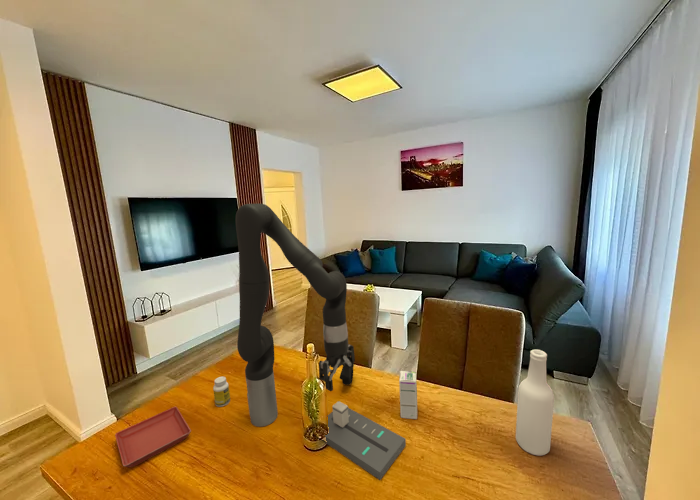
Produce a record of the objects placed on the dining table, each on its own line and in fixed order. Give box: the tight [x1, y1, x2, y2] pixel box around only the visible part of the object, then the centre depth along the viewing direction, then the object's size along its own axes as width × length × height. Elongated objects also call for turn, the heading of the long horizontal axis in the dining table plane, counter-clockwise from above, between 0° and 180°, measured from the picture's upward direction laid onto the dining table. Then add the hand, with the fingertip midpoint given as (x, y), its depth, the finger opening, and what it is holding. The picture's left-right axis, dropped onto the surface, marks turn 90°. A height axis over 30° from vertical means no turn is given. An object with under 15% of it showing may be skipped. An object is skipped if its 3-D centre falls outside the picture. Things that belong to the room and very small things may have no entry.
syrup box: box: [398, 370, 418, 420], centre depth 103 cm, size 6×6×14 cm
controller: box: [339, 361, 355, 386], centre depth 121 cm, size 4×12×10 cm, turn 169°
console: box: [325, 407, 407, 481], centre depth 93 cm, size 26×14×3 cm, turn 50°
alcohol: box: [515, 348, 555, 457], centre depth 86 cm, size 9×9×30 cm
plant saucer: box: [114, 406, 192, 468], centre depth 97 cm, size 18×18×3 cm
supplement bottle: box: [212, 376, 231, 408], centre depth 113 cm, size 5×5×10 cm
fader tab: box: [332, 400, 349, 428], centre depth 97 cm, size 4×3×6 cm
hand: (338, 382), depth 95 cm, fingers open, 8 cm apart
